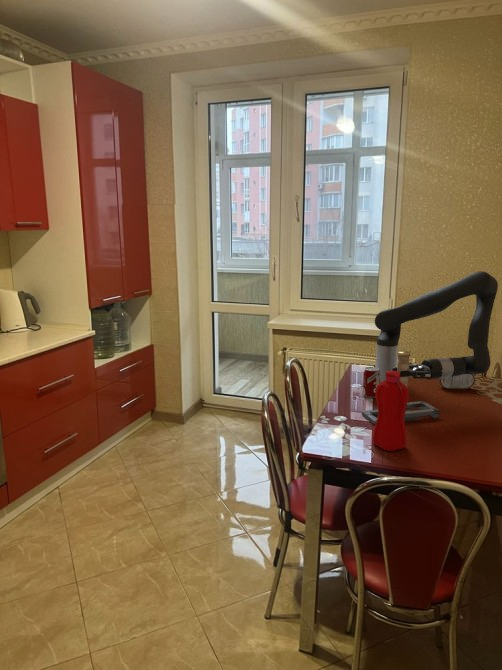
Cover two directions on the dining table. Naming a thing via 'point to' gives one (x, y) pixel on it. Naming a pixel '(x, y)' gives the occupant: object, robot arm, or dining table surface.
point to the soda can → (370, 381)
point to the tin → (458, 381)
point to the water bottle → (391, 413)
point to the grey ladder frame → (408, 412)
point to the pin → (403, 364)
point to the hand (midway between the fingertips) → (396, 372)
